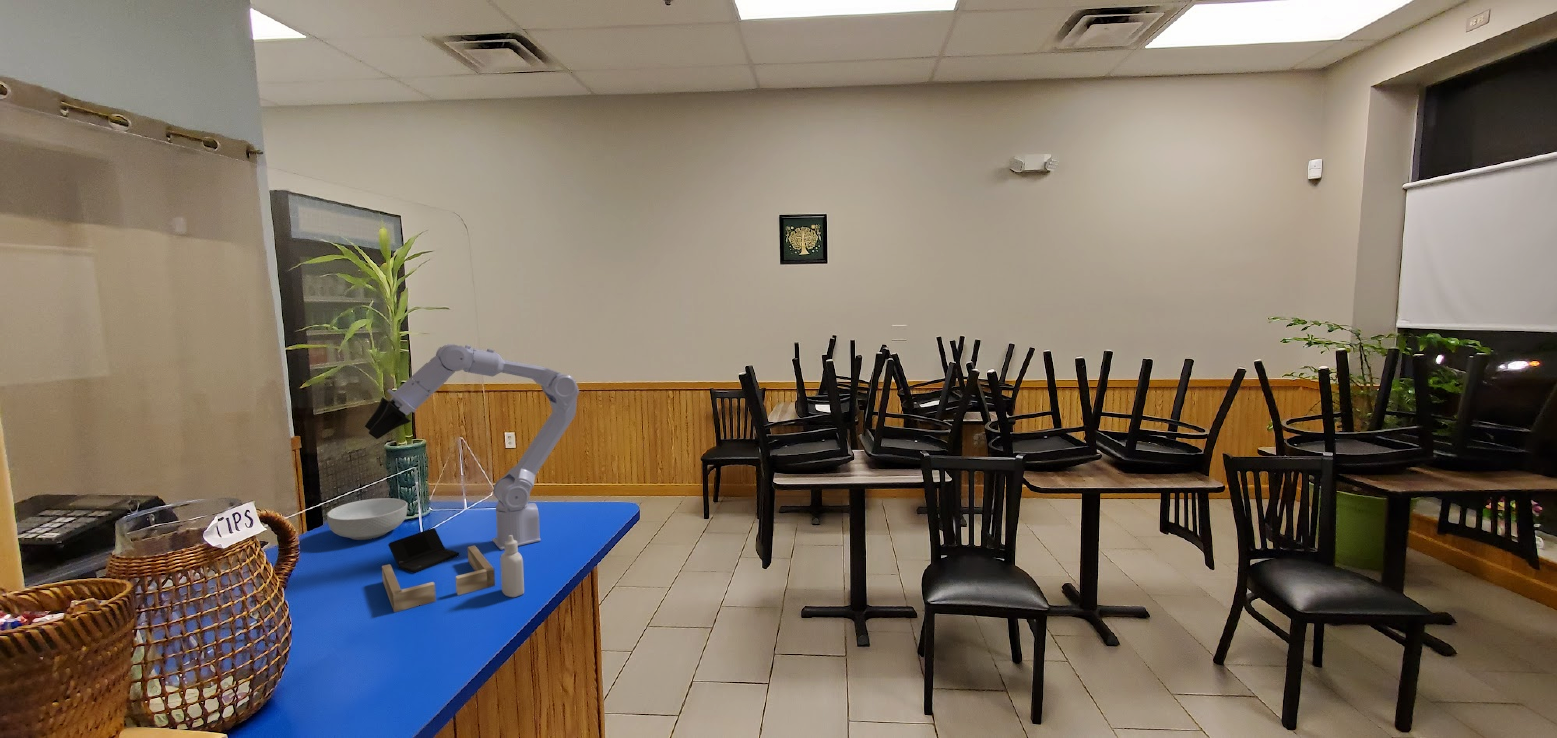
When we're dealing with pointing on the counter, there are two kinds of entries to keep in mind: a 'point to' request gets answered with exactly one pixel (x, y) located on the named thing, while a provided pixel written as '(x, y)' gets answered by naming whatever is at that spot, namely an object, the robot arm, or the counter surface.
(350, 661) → the counter surface
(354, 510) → the cereal bowl
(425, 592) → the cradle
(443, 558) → the handheld gaming console
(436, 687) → the counter surface
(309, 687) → the counter surface
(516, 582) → the eye dropper bottle
